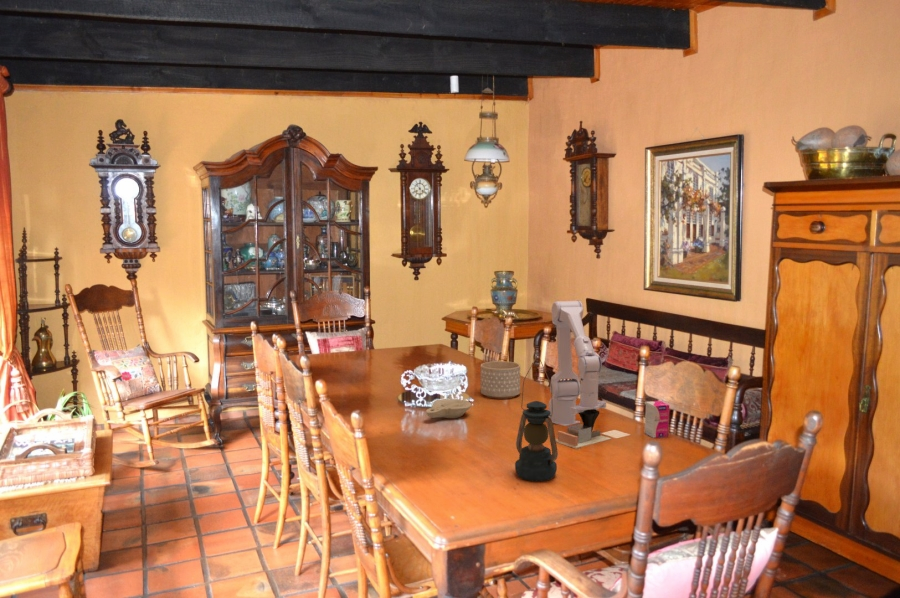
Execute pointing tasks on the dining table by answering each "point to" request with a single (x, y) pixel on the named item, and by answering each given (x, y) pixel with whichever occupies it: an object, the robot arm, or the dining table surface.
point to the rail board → (573, 440)
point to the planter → (500, 379)
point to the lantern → (536, 442)
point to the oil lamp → (448, 408)
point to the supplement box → (656, 419)
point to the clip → (580, 432)
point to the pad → (615, 434)
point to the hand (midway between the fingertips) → (588, 431)
